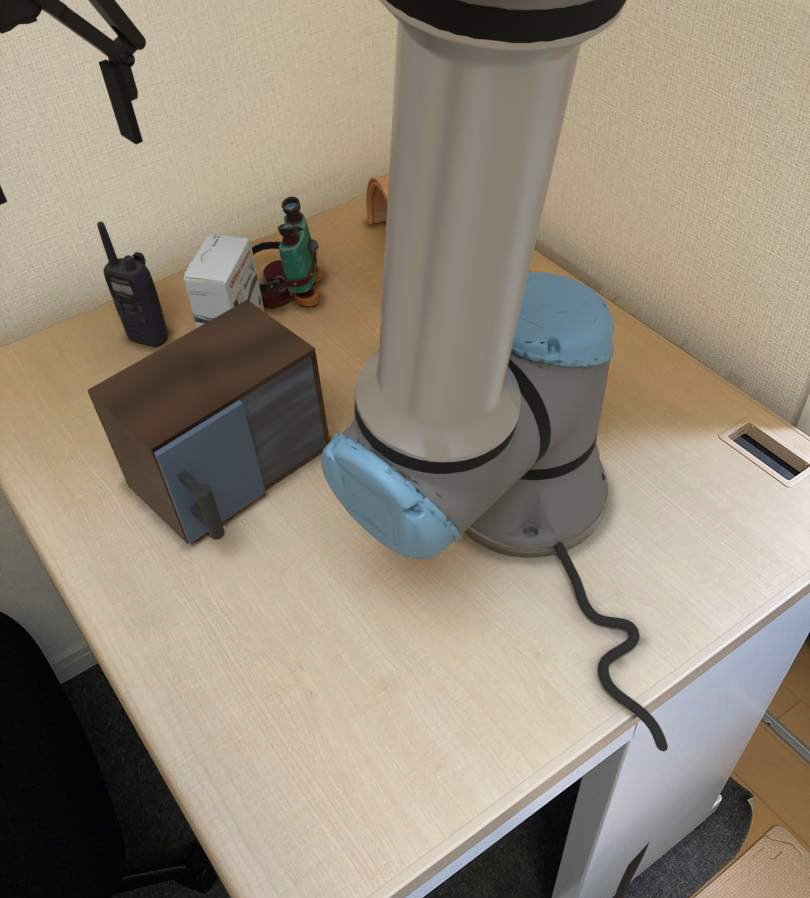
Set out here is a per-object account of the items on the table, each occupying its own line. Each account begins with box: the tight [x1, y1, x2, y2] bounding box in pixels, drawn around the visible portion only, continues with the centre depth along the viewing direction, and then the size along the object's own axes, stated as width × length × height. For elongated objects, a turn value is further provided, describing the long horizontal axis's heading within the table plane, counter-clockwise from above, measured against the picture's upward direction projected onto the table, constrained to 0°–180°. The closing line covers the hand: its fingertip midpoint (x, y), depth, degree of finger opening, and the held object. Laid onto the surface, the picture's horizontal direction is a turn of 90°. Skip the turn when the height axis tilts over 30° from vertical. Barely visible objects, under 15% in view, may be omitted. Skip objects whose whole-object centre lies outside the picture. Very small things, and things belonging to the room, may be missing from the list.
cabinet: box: [86, 300, 331, 544], centre depth 88 cm, size 10×18×13 cm, turn 133°
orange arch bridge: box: [365, 173, 389, 225], centre depth 109 cm, size 6×20×10 cm, turn 16°
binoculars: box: [251, 196, 323, 308], centre depth 107 cm, size 9×11×10 cm
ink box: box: [183, 233, 265, 328], centre depth 100 cm, size 9×5×12 cm, turn 168°
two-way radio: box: [96, 220, 168, 347], centre depth 101 cm, size 6×4×15 cm
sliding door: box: [154, 400, 267, 545], centre depth 82 cm, size 5×9×12 cm, turn 133°
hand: (66, 167), depth 81 cm, fingers open, 13 cm apart
